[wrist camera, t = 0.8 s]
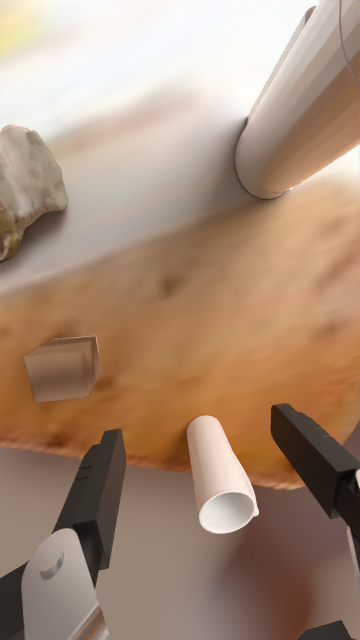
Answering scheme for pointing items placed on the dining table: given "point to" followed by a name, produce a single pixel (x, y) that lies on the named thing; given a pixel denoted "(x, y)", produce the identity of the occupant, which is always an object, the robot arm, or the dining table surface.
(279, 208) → the dining table surface
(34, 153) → the ceramic sculpture
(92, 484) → the robot arm
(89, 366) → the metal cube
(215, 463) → the mug
